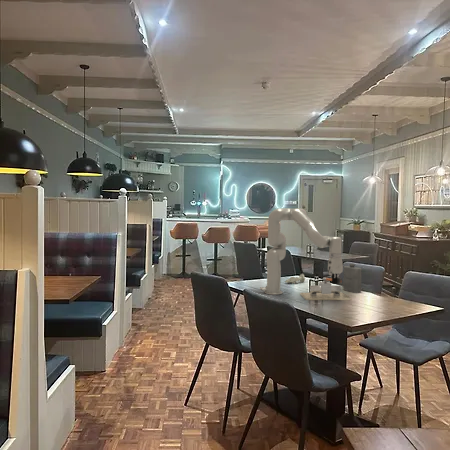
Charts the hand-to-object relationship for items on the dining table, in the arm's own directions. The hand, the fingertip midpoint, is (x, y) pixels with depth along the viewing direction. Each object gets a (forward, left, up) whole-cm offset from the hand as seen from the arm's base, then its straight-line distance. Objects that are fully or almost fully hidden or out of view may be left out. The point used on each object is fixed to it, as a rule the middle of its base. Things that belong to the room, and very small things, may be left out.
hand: (334, 283), depth 279 cm
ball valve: (-3, +10, -11) cm, 15 cm away
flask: (+23, +31, -12) cm, 40 cm away
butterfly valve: (-12, +62, -12) cm, 64 cm away
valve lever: (0, +6, -1) cm, 6 cm away
